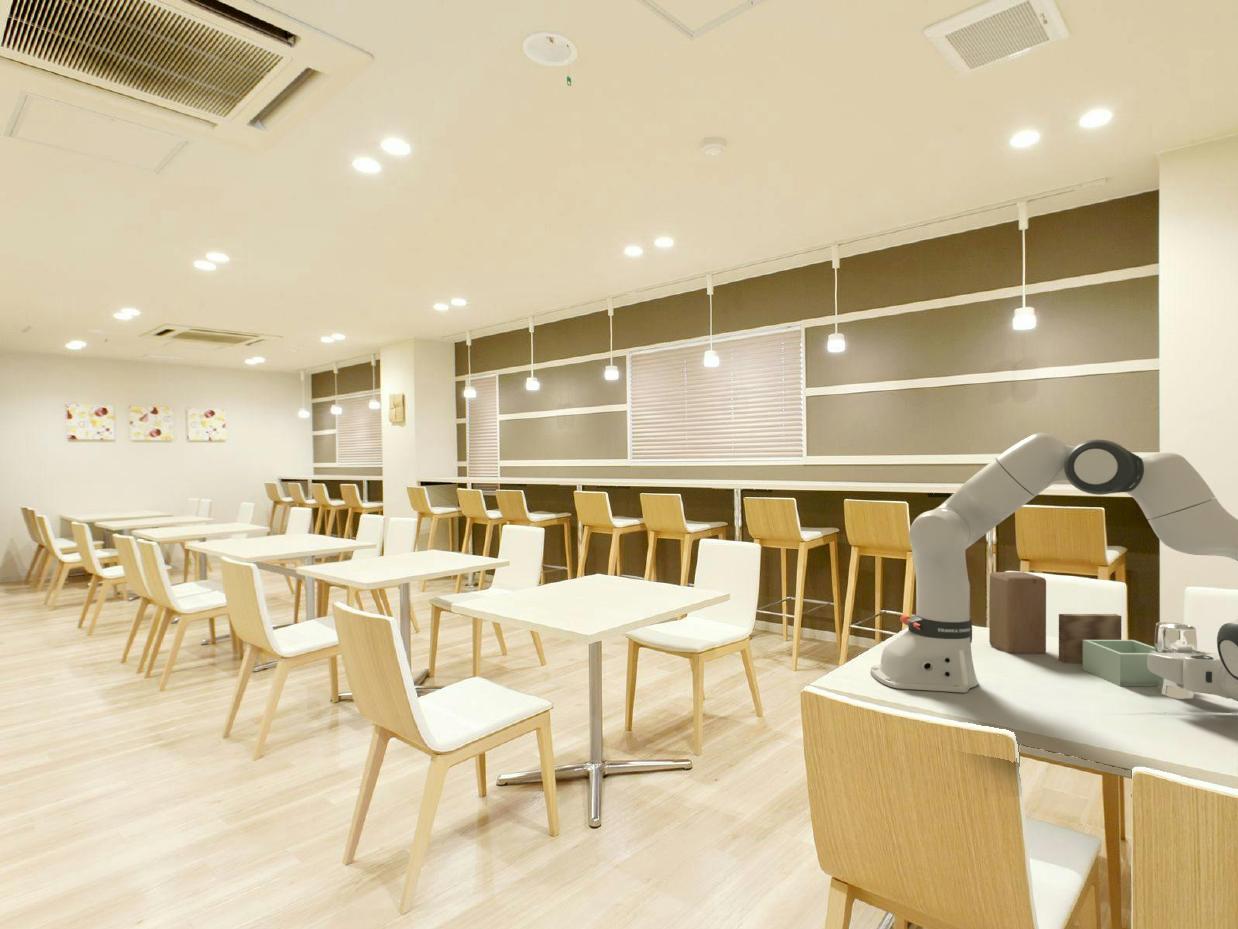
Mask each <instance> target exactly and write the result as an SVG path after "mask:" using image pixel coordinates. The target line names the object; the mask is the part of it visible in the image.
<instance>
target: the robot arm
mask: <svg viewBox="0 0 1238 929" xmlns="http://www.w3.org/2000/svg"><path fill="white" fill-rule="evenodd" d="M1062 481H1066V482H1069V483H1070V484H1071V485H1072V487H1075V488H1076V489H1078V490H1079V491H1081V492H1084V493H1087V494H1091V495H1097V496H1099V495H1100V496H1104V495H1109V494H1117V493H1124V494H1128V495H1130V497H1132V498H1133V500H1135V502H1136V503H1137V504H1138V506H1139V507H1140V510H1142V513H1143V515H1144V517H1145V518H1146V520H1147V522H1148V524H1149V525H1150V526H1151V528H1152V529H1151V530H1153V532H1154V534H1155V536H1156V537H1157V538H1158V539H1159V541H1161V543H1162V544H1163V545H1165V546H1166V547H1168V548H1170V549H1172V550H1174V551H1177V552H1179V553H1183V554H1187V555H1193V556H1216V557H1218V556H1219V557H1225V558H1230V559H1232V560H1235V561H1237V562H1238V518H1236V517H1235V516H1233V515H1232V514H1230V512H1228V510H1226V509H1225V508H1224V506H1223V505H1222V504H1221V503H1220V502H1219V500H1218V499H1217V498H1216V495H1215V494H1214V492H1213V490H1212V488H1210V486H1209V485H1208V484H1207V482H1206V481H1205V480H1204V478H1203V477H1202V475H1200V473H1199V472H1198V471H1197V470H1196V468H1195V467H1194V466H1193V465H1192V464H1191V463H1190V462H1189V461H1188V460H1187V459H1186V458H1185V457H1184V456H1183V455H1180V454H1177V453H1174V452H1160V453H1155V454H1152V455H1148V456H1144V457H1140V456H1138V455H1137V454H1135V453H1133V452H1131V451H1130V450H1128V449H1126V447H1124V446H1123V445H1122V444H1120V443H1118V442H1115V441H1112V440H1108V439H1091V440H1090V439H1089V440H1085V441H1082V442H1080V443H1078V444H1077V445H1073V446H1072V445H1068V444H1066V443H1064V441H1062V440H1061V439H1060V438H1058V437H1057V436H1054V435H1053V434H1049V433H1046V432H1037V433H1033V434H1031V435H1029V436H1028V437H1026V438H1024V439H1022V440H1020V441H1018V442H1017V443H1015V444H1013V445H1011V446H1010V447H1009V448H1008V449H1006V450H1004V451H1003V452H1001V453H1000V454H999V455H998V456H997V457H996V458H994V459H993V460H991V461H990V462H989V463H987V464H986V465H984V466H983V467H982V468H981V469H980V470H979V471H978V472H976V473H975V474H974V475H973V476H971V477H970V478H969V479H967V481H965V482H964V483H963V484H962V485H961V486H960V487H959V488H957V490H956V491H954V493H953V494H952V495H950V496H949V497H948V498H947V499H946V500H945V501H943V502H942V503H941V504H940V505H939V506H937V507H936V508H934V509H931V510H927V511H924V512H922V513H920V514H919V515H918V516H917V517H916V518H914V520H913V522H912V524H911V525H910V528H909V532H908V538H909V543H910V547H911V554H912V561H913V568H914V573H915V574H914V575H915V582H916V583H915V589H916V590H915V591H916V596H915V597H916V598H915V600H916V611H915V612H916V613H915V614H914V615H913V616H912V617H910V616H908V615H906V614H902V615H901V616H900V617H899V620H900V622H901V624H904V625H906V626H908V627H907V628H908V630H907V631H906V632H904V633H903V634H902V635H900V636H899V637H897V638H895V639H894V640H893V641H890V643H888V644H887V645H885V647H884V648H883V650H882V653H881V658H880V664H878V665H876V664H875V665H872V666H871V667H870V674H871V676H872V677H873V678H874V679H875V680H877V681H878V682H879V683H880V684H881V683H882V684H883V685H886V686H888V687H891V688H894V689H901V690H902V689H903V690H918V691H919V690H920V691H921V690H922V691H935V692H951V693H968V692H969V689H971V688H974V687H976V686H977V685H979V681H978V678H977V675H976V671H975V667H974V661H973V655H972V642H973V622H972V621H973V620H972V619H971V584H970V581H969V580H970V579H969V575H968V567H967V558H966V550H967V549H968V548H969V547H971V546H972V545H973V544H975V543H976V542H978V540H980V539H981V538H983V537H984V536H985V535H986V534H988V533H989V532H990V531H992V529H994V528H995V527H997V526H998V525H999V524H1001V523H1002V522H1004V521H1005V520H1006V519H1007V518H1008V517H1010V516H1011V515H1013V514H1014V513H1015V512H1017V511H1018V510H1019V509H1021V508H1022V507H1023V506H1024V505H1026V504H1027V503H1029V502H1031V501H1032V500H1033V499H1034V498H1035V497H1036V496H1038V495H1039V494H1041V493H1042V492H1043V491H1045V490H1046V489H1048V488H1049V487H1050V486H1052V485H1054V484H1055V483H1058V482H1062ZM1216 647H1217V652H1207V651H1203V650H1197V653H1162V652H1159V651H1150V652H1149V654H1148V657H1147V666H1148V670H1149V671H1150V672H1152V673H1154V674H1156V675H1158V676H1160V677H1162V678H1165V679H1167V680H1169V681H1172V682H1175V683H1178V684H1182V685H1183V686H1184V689H1186V690H1189V691H1192V692H1193V693H1198V694H1199V693H1200V694H1204V695H1205V694H1206V695H1214V696H1218V697H1221V698H1225V699H1229V700H1233V701H1236V702H1238V619H1235V620H1234V619H1233V620H1232V621H1229V622H1227V623H1224V624H1222V625H1221V626H1220V628H1219V630H1218V632H1217V637H1216Z"/></svg>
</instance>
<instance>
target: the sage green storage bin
mask: <svg viewBox="0 0 1238 929" xmlns="http://www.w3.org/2000/svg"><path fill="white" fill-rule="evenodd" d="M1150 651H1155V646H1152V645H1149V644H1146V643H1143V642H1141V641H1138V640H1135V639H1121V640H1083V663H1082V670H1083V671H1085V672H1088V673H1089V674H1093V675H1095V676H1096V677H1098V678H1101V679H1103V680H1106V681H1107V682H1110V683H1112V684H1114V685H1117V686H1118V687H1158V685H1159V679H1160V676H1158V675H1156V674H1154V673H1152V672H1150V671H1149V670H1148V666H1147V657H1148V654H1149V652H1150Z"/></svg>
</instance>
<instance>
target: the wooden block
mask: <svg viewBox="0 0 1238 929" xmlns="http://www.w3.org/2000/svg"><path fill="white" fill-rule="evenodd" d="M988 586H989V589H988V590H989V595H988V596H989V604H988V605H989V609H988V610H989V615H988V617H989V621H988V622H989V629H988V630H989V631H988V632H989V638H988V639H989V641H988V642H989V644H990V646H993V647H994V648H996V649H998V650H1000V651H1002V652H1005V653H1007V654H1011V655H1012V654H1017V655H1019V654H1020V655H1021V654H1026V655H1027V654H1033V655H1035V654H1037V655H1038V654H1039V655H1041V654H1046V653H1047V580H1046V578H1044V577H1043V576H1039V575H1034V574H1032V573H1028V572H1024V571H1000V572H999V571H993V572H989V585H988Z"/></svg>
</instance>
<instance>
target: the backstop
mask: <svg viewBox="0 0 1238 929" xmlns="http://www.w3.org/2000/svg"><path fill="white" fill-rule="evenodd" d="M1083 640H1122V615H1119V614H1116V613H1059V614H1058V661H1059V662H1061V663H1063V664H1083Z"/></svg>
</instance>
